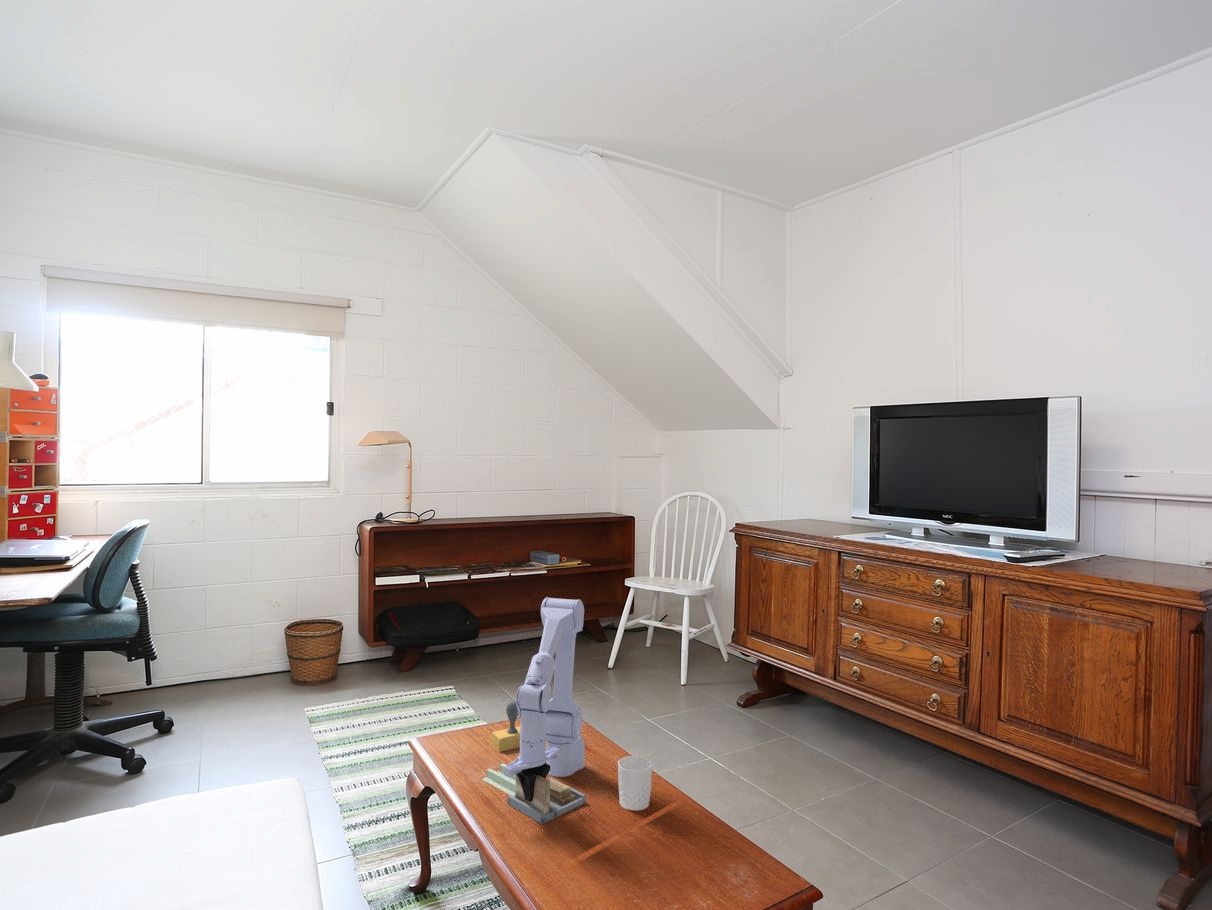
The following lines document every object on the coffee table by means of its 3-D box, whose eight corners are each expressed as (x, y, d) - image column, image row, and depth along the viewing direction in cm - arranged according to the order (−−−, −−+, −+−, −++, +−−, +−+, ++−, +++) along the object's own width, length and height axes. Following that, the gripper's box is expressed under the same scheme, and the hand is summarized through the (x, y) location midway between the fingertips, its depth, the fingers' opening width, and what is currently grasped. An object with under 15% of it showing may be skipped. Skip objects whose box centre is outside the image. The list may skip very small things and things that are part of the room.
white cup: (656, 802, 165) (657, 759, 165) (644, 818, 158) (644, 773, 158) (625, 795, 168) (625, 753, 168) (611, 810, 161) (612, 766, 161)
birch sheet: (520, 800, 163) (520, 766, 163) (549, 817, 156) (549, 780, 156) (515, 803, 162) (515, 768, 162) (544, 819, 155) (544, 783, 155)
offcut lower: (552, 789, 169) (552, 783, 169) (575, 801, 163) (575, 795, 163) (540, 794, 166) (540, 788, 166) (563, 807, 161) (563, 801, 161)
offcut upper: (550, 785, 168) (551, 779, 168) (570, 792, 164) (570, 786, 164) (541, 790, 166) (541, 784, 166) (560, 798, 162) (560, 792, 162)
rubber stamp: (499, 752, 191) (499, 708, 191) (491, 745, 196) (491, 701, 196) (533, 745, 196) (533, 701, 196) (524, 737, 201) (525, 695, 201)
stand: (507, 771, 180) (507, 761, 180) (538, 788, 171) (538, 777, 171) (481, 782, 174) (481, 771, 174) (512, 799, 165) (512, 788, 165)
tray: (550, 788, 171) (550, 777, 171) (585, 806, 163) (585, 794, 163) (507, 807, 162) (507, 796, 162) (542, 827, 154) (542, 815, 154)
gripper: (545, 724, 167) (545, 781, 167) (495, 742, 157) (495, 803, 157) (565, 732, 162) (565, 792, 162) (515, 752, 152) (515, 815, 152)
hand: (532, 798), depth 159 cm, fingers closed on birch sheet, 1 cm apart
